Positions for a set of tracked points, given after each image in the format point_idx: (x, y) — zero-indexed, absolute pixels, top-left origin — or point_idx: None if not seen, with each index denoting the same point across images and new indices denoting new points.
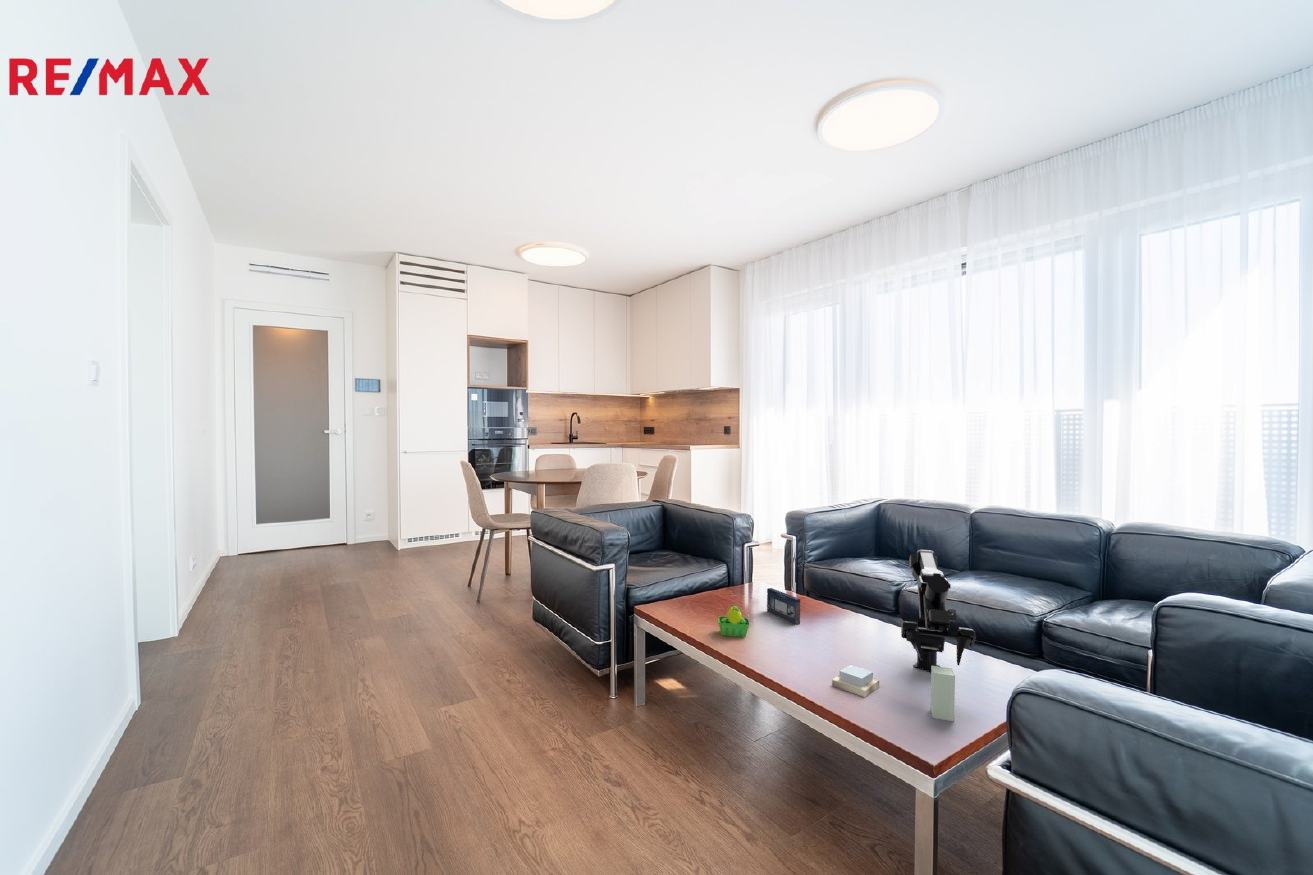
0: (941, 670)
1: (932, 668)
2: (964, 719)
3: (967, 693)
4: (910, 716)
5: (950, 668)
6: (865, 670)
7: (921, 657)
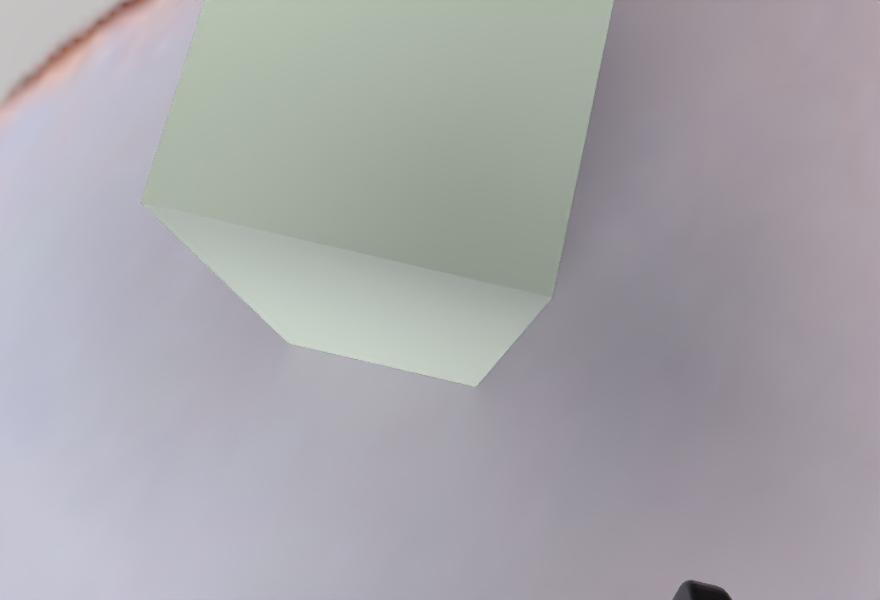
0: (427, 53)
1: (585, 129)
2: None
3: None
4: (721, 209)
5: (173, 195)
6: None
7: (721, 596)
